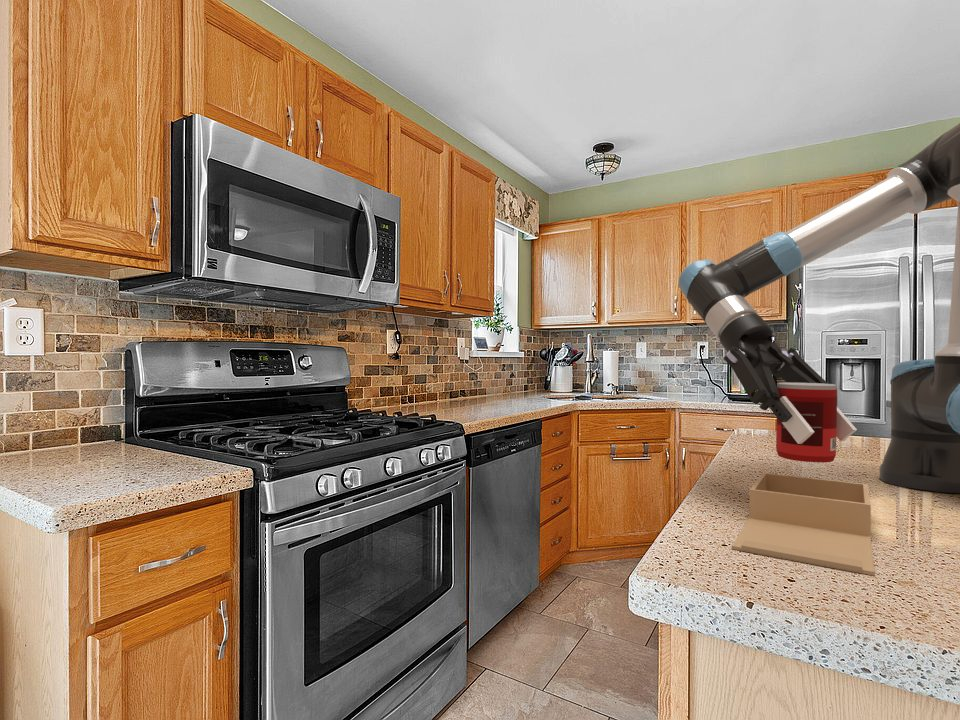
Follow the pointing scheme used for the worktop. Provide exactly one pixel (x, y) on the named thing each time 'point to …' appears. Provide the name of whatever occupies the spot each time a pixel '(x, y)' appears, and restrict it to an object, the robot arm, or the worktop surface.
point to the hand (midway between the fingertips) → (827, 436)
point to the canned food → (810, 422)
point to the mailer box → (810, 522)
